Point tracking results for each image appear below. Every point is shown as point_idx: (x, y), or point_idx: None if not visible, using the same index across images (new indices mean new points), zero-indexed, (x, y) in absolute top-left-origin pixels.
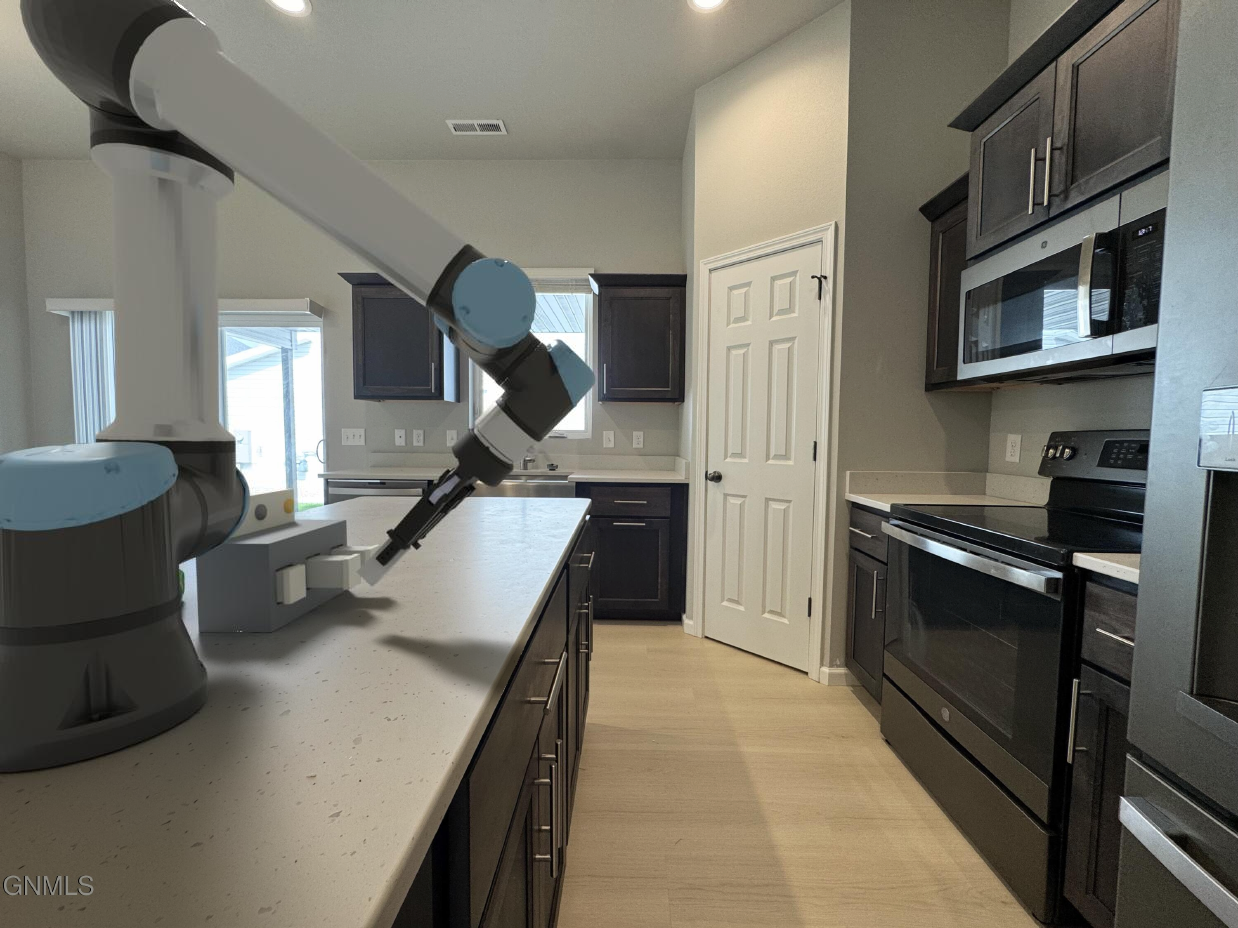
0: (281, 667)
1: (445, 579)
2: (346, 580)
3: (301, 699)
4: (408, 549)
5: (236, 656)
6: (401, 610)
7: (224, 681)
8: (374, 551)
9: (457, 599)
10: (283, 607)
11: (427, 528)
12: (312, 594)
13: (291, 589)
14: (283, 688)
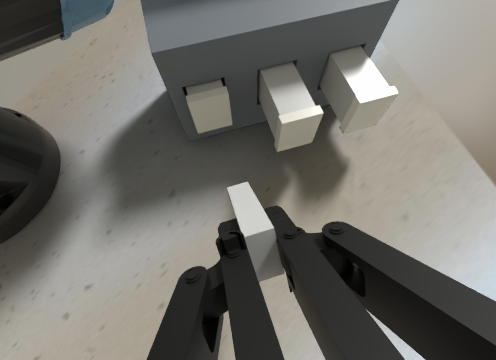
0: (99, 233)
1: (468, 185)
2: (277, 141)
3: (15, 331)
4: (265, 279)
5: (122, 164)
6: (309, 225)
7: (62, 208)
8: (372, 104)
9: None
10: None
11: (310, 327)
12: None
13: (197, 121)
14: (45, 284)
